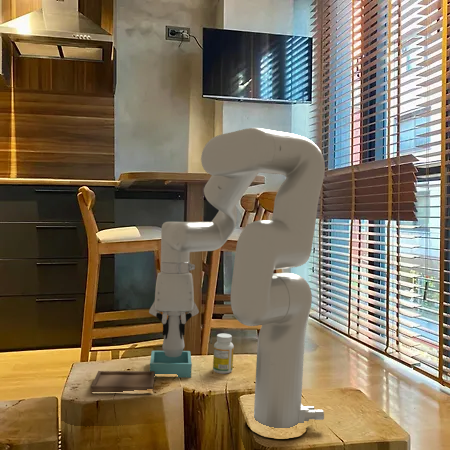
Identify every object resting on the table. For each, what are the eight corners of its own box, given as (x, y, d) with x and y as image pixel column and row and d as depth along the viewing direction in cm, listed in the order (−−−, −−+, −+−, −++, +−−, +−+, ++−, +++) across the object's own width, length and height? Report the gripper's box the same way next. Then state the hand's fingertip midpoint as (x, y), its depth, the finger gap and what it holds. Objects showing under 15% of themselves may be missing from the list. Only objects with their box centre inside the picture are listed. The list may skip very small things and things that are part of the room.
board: (154, 378, 123) (154, 371, 123) (152, 394, 113) (152, 386, 113) (98, 377, 122) (98, 370, 122) (91, 394, 112) (91, 386, 112)
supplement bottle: (222, 375, 127) (223, 339, 127) (208, 369, 131) (210, 334, 131) (236, 371, 131) (238, 336, 130) (223, 365, 135) (224, 331, 134)
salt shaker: (182, 358, 126) (184, 308, 125) (160, 358, 126) (161, 308, 125) (185, 352, 131) (186, 304, 131) (164, 351, 131) (165, 303, 131)
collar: (189, 363, 135) (190, 351, 135) (191, 377, 125) (191, 364, 125) (151, 363, 134) (151, 350, 134) (149, 377, 124) (149, 363, 123)
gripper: (205, 267, 132) (203, 334, 133) (144, 266, 131) (143, 334, 131) (207, 270, 125) (205, 341, 125) (142, 269, 123) (141, 341, 124)
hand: (173, 337), depth 128 cm, fingers closed on salt shaker, 3 cm apart
